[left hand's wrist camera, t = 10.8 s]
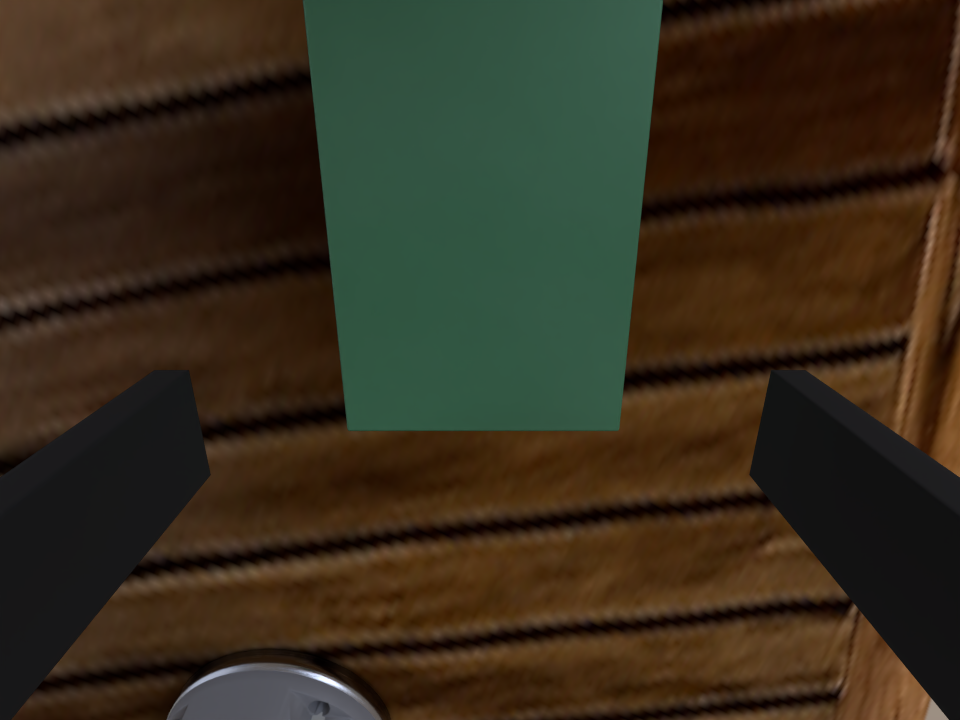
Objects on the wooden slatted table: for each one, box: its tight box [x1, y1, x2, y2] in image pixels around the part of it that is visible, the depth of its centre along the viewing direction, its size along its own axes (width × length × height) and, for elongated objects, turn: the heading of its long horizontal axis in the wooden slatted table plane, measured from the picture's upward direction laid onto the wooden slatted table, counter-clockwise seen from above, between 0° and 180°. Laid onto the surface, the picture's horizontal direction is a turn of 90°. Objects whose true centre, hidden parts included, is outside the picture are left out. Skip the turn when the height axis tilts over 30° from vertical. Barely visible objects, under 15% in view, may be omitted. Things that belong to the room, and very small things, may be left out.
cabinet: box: [303, 0, 663, 431], centre depth 21 cm, size 14×10×10 cm
